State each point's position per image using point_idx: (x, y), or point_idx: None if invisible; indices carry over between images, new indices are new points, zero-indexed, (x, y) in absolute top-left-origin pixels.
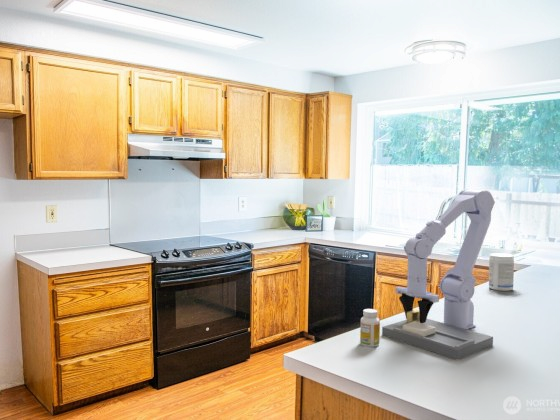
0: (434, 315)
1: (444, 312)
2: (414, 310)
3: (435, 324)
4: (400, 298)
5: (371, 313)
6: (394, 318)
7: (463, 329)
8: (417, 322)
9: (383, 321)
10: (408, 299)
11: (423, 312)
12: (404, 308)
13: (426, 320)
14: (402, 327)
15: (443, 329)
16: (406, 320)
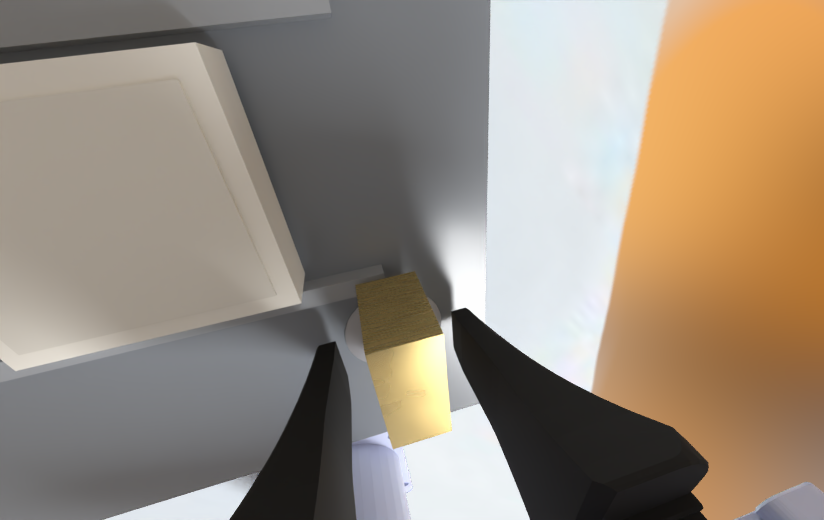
0: (495, 453)
1: (384, 517)
2: (434, 411)
3: None
4: (663, 451)
5: None
6: (590, 316)
7: (154, 493)
8: (244, 297)
9: (611, 239)
10: (560, 504)
11: (276, 451)
12: (521, 363)
13: None
14: (357, 167)
15: (186, 412)
16: (474, 310)
